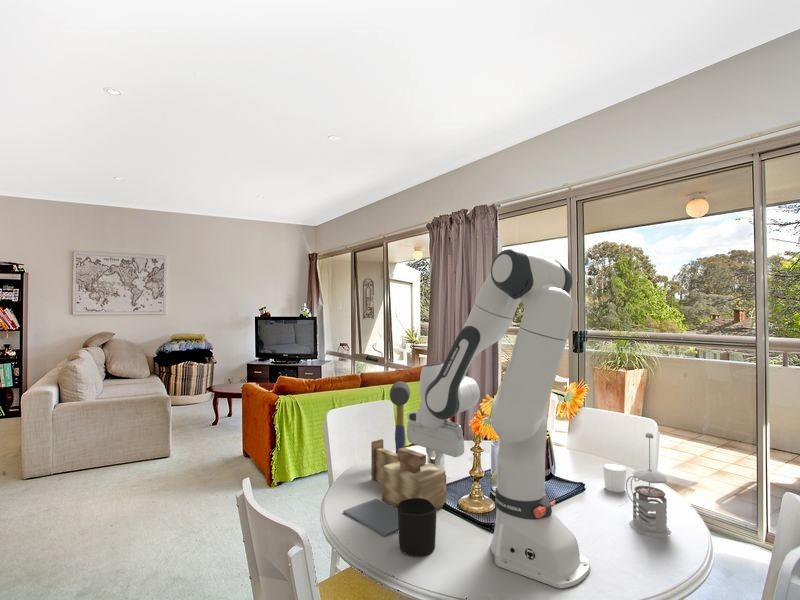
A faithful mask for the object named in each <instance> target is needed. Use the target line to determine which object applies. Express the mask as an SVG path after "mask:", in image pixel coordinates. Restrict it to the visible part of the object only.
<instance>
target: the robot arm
mask: <svg viewBox="0 0 800 600" xmlns="http://www.w3.org/2000/svg"><path fill="white" fill-rule="evenodd" d="M572 287H573V275H572V273H571V271H570V270H569V268H568V267H567V266H566V265H564V264H562V263H561V262H559V261H557V260H552V259H550V258H548V257H545V256H543V255H541V254H538V253H535V252H530V251H529V252H528V251H525V250H522V249H517V248H510V249H504V250H502V251H500V252H499V253H498V254H497V255H496V256H495V258H494V259H493V261H492V264H491V267H490V273H489V274H488V276H487V277H486V279H485V280H484V282H483V284H481V287H480V289H479V291H478V294H477V296H476V298H475V301H474V303H473V305H472V308H471V310H470V313H469V315H468V316H467V319H466V321H465V323H464V325H463V327H462V328H461V330H460V331H459V333H458V335H457V336H456V339H455V340H454V342H453V344H452V346H451V348H450V349H449V352H448V355H447V356H446V358H445V361H443V362H442V361H441V362H433V363H428V364H425V365H424V366H422V368H421V372H420V378H419V395H420V403H419V409H418V410H415V411H410V412H408V413H407V420H408V421H407V423H406V439H407V441H408V443H410V444H413V445H416V446H419V447H422V448H425V452H426V456H427V455H428V456H427V458H428V457H429V463H430V464H433V465H435V466H438V465H440V459H441V457H442V455H443V454H446V456H450V457H453V458H458V457H461V456H463V455H464V453H465V440H464V439H465V438H464V435H463V428H462V427H461V425H460V424H459V423H457V422H454V421H451V420H450V419H451V418H452V417H454V416H456V415H458V414H461V413H463V412H466V411H468V410H470V409H473V408H474V407H476V406H477V405H478V404H479V402H480V400H481V389H480V386H479V384H478V381H476V380H475V379H474V378H473V377H471V376H467V375H466V374H467V372H468V371H469V368H470V365H471V364H472V362H473V361H474V359H475V358H476V357H477V356H478V355H479V354H480V353H481V352H482V351H484V350H485V349H487V348H488V347H490V346H492V345H494V344H495V343H497V342H499V341H500V340H502V339H503V337H504V336H505V335H506V333H507V332H508V330H509V328H510V326H511V324H512V322H513V319H514V317H515V315H516V312H517V309H518V306H519V305H520V303H521V302H522V303H523V314H522V317H521V321H520V323H519V327H518V331H517V334H516V338H515V341H514V343H513V344H514V345H513V347H512V348H513V349H512V351H511V356H510V359H509V362H508V364H507V366H506V368H505V372H504V374H503V377H502V380H501V383H500V386H499V387H498V390H497V394H496V397H495V400H494V403H493V407H492V409H491V413H490V422H491V426H492V428H493V431H494V433H495V434H496V435H497V436H498V437H499V444H498V445H499V446H498V450H497V455H496V457H497V458H496V461H497V462H496V465H497V466H496V473H497V474H496V488H495V494H494V495H495V496H494V497H495V498H494V499H495V501H494V502H495V508H496V515H495V522H494V531H493V535H492V539H491V543H490V545H489V547H490V548H489V549H490V551H491V553H492V555H493V557H494V564H495V566H497V567H499V568H502V569H505V570H508V571H511V572H513V573H516V574H518V575H521V576H524V577H527V578H529V579H532V580H535V581H538V582H539V583H540V582H541V583H544V584H546V585H549V586H551V587H554V588H557V589H566V588H570V587H574V586H576V585H577V584H579V583H581V582H582V581H584V579H585V578H587V577H588V575H589V574H590V572H591V562H590V559H589V558H587V557H585V556H584V555H582V554H581V553H580V548H579V543H578V539H577V537H576V536H575V534H574V533H573V532H572V531H571V530H569V528H568V527H567V526H566V525H565V524H564V523H563V522H562V520H560V519H559V517H557V515H556V514H554V512H553V507H555V506H556V500H555V499H554V500H552V501H550V500H549V498H548V494H547V492H546V468H545V467H546V448H547V434H548V433H547V432H548V411H549V409H548V408H549V407H548V401H549V398H550V395H551V392H552V389H553V386H554V384H555V381H556V377H557V375H558V371H559V369H560V365H561V362H562V357H563V356H564V355H563V354H564V351H565V347H566V345H567V341H568V337H569V334H570V333H569V332H570V328H571V323H572V319H573V317H572V316H573V309H574V308H573V306H574V303H573V302H574V301H573V299H572V296H571V295H570V294H569V293H570V291H571V289H572ZM433 451H435V454H436V457H435V456H434V453H433Z"/></svg>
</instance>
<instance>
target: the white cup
mask: <svg viewBox="0 0 800 600" xmlns="http://www.w3.org/2000/svg"><path fill="white" fill-rule="evenodd" d="M602 469H603V477H604V478H603V479H604V488H605V489H606V490H607V491H609V492H613V493H623V492H625V490H626V481H627V479H626V478H627V467H626V466H625V465H622V464H618V463H614V462H613V463H612V462H611V463H610V462H608V463H604V464H603V465H602Z"/></svg>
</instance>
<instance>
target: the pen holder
mask: <svg viewBox="0 0 800 600" xmlns="http://www.w3.org/2000/svg"><path fill="white" fill-rule="evenodd" d="M397 509H398V528H399V531H398V544H399V549H400V550H401V552H402V553H403V554H405V555H407V556H409V557H417V558H418V557H419V558H420V557H426V556H429V555H430V554H431V553H433V551H435V547H436V538H437V537H436V535H437V514H438V513H437V512H438V510H437V508H435V507H434V505H433V504H432V503H431V502H430V501H428V500H426V499H423V498H410V499H406V500H403V501H401V502H400V503H399V505H398V507H397Z"/></svg>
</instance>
